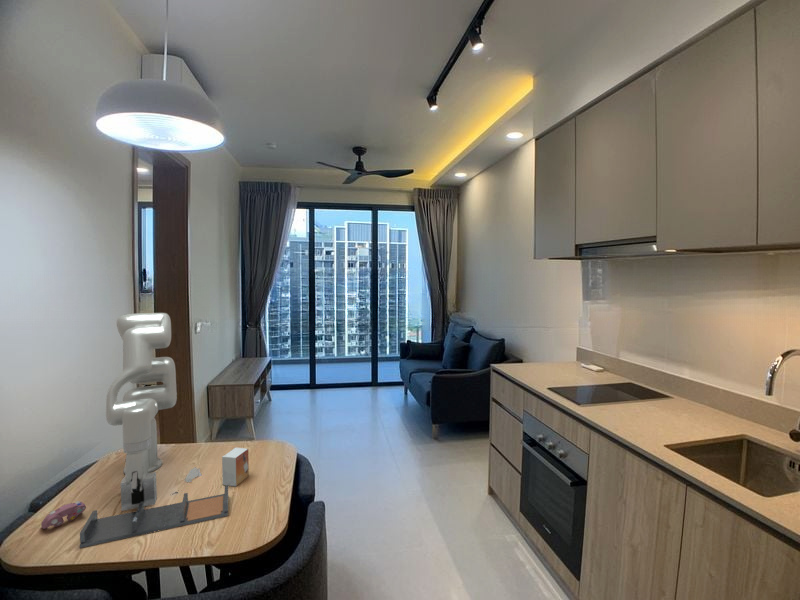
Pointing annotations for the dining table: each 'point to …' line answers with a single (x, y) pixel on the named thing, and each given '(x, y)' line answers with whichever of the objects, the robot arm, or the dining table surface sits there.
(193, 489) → the dining table surface
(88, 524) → the slot rack
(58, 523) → the video game controller
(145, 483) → the panel
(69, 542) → the dining table surface
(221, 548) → the dining table surface
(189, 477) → the car cutout
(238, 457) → the small box
